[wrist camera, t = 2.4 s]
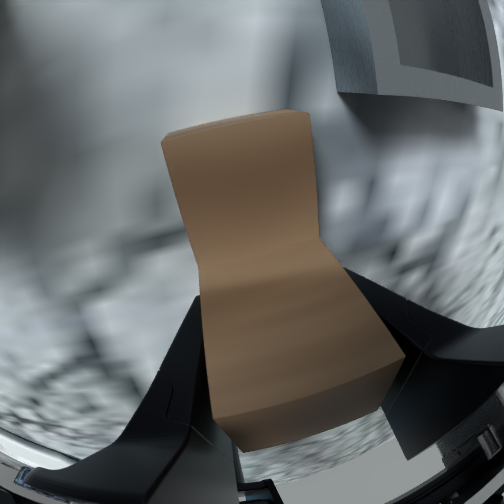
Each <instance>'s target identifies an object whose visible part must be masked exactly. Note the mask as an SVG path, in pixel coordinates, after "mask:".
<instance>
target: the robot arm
mask: <svg viewBox="0 0 504 504" xmlns="http://www.w3.org/2000/svg"><path fill="white" fill-rule="evenodd" d="M343 268H344V267H343ZM344 270H345V271H346V272H347V274H348V275H349V276H350V278H351V279H352V280H353V282H354V283H355V284H356V286H357V287H358V288H359V290H360V291H361V293H362V294H363V295H364V297H365V298H366V299H367V301H368V302H369V304H370V305H371V306H372V308H373V309H374V311H375V312H376V313H377V315H378V316H379V318H380V319H381V320H382V322H383V323H384V325H385V326H386V328H387V329H388V331H389V332H390V333H391V335H392V336H393V338H394V339H395V341H396V342H397V344H398V345H399V347H400V348H401V350H402V351H403V353H404V354H405V356H406V357H405V359H404V361H403V363H402V365H401V367H400V369H399V371H398V373H397V375H396V377H395V379H394V381H393V383H392V385H391V387H390V389H389V390H388V392H387V394H386V396H385V398H384V399H383V401H382V403H381V405H380V406H381V408H382V410H383V412H384V414H385V416H386V418H387V420H388V422H389V424H390V426H391V428H392V430H393V432H394V434H395V436H396V438H397V440H398V442H399V444H400V447H401V449H402V451H403V453H404V455H405V457H406V459H407V460H410V459H412V458H413V457H415V456H417V455H419V454H420V453H422V452H423V451H425V450H427V449H428V448H430V447H431V446H433V445H435V444H436V446H437V448H438V450H439V452H440V454H441V456H442V461H443V463H444V465H445V467H446V468H445V469H443V470H442V471H440V472H439V473H437V474H436V475H434V476H433V477H431V478H430V479H428V480H427V481H425V482H423V483H422V484H420V485H418V486H417V487H415V488H413V489H411V490H410V491H408V492H406V493H404V494H402V495H401V496H399V497H397V498H395V499H393V500H391V501H389V502H387V503H385V504H440V503H441V504H504V497H503V496H502V493H503V492H504V325H500V326H494V327H488V328H473V327H469V326H466V325H464V324H462V323H459V322H457V321H454V320H452V319H449V318H447V317H445V316H442V315H440V314H437V313H435V312H433V311H431V310H428V309H426V308H424V307H422V306H420V305H418V304H416V303H414V302H412V301H410V300H407V299H406V298H404V297H402V296H400V295H398V294H396V293H394V292H392V291H390V290H389V289H387V288H385V287H383V286H381V285H379V284H377V283H375V282H373V281H371V280H369V279H367V278H365V277H363V276H361V275H359V274H357V273H355V272H352V271H350V270H348V269H346V268H344ZM159 369H160V370H159V371H158V372H157V374H156V376H155V378H154V380H153V382H152V384H151V386H150V388H149V390H148V392H147V394H146V395H145V397H144V399H143V400H142V402H141V404H140V405H139V407H138V408H137V410H136V412H135V413H134V415H133V416H132V418H131V420H130V421H129V423H128V424H127V426H126V428H125V429H124V431H123V432H122V434H121V435H120V436H119V437H118V439H117V440H115V441H114V442H113V443H112V444H111V445H109V446H107V447H106V448H104V449H102V450H100V451H98V452H96V453H94V454H92V455H90V456H88V457H86V458H85V459H83V460H81V461H79V462H76V463H74V464H72V465H70V466H68V467H65V468H62V469H57V470H51V469H46V468H43V467H36V468H35V469H33V470H31V471H30V472H29V473H27V475H26V476H25V477H24V480H23V483H24V484H26V485H28V486H31V487H33V488H35V489H38V490H40V491H43V492H45V493H48V494H50V495H53V496H56V497H59V498H62V499H65V500H68V501H70V504H284V503H283V501H282V499H281V497H280V495H279V493H278V491H277V489H276V487H275V485H274V483H273V481H272V479H266V480H262V481H260V482H252V483H245V482H244V478H243V473H242V468H241V464H240V459H239V454H238V449H237V445H236V444H235V443H234V442H233V441H232V440H231V439H230V438H229V437H228V436H227V434H226V433H225V432H224V431H223V430H222V429H221V428H220V426H219V425H218V424H217V423H216V422H215V420H214V419H213V415H212V408H211V401H210V393H209V385H208V376H207V367H206V358H205V348H204V337H203V326H202V314H201V301H200V295H198V296H196V297H195V299H194V301H193V303H192V305H191V307H190V309H189V310H188V312H187V314H186V316H185V318H184V320H183V322H182V324H181V326H180V328H179V330H178V332H177V334H176V336H175V338H174V340H173V342H172V344H171V346H170V348H169V350H168V352H167V354H166V356H165V358H164V360H163V362H162V364H161V366H160V368H159ZM244 496H246V501H241V502H239V498H238V497H244ZM0 504H43V503H40V502H38V501H35V500H32V499H30V498H27V497H25V496H22V495H20V494H18V493H15V492H13V491H11V490H9V489H7V488H5V487H3V486H0Z"/></svg>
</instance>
